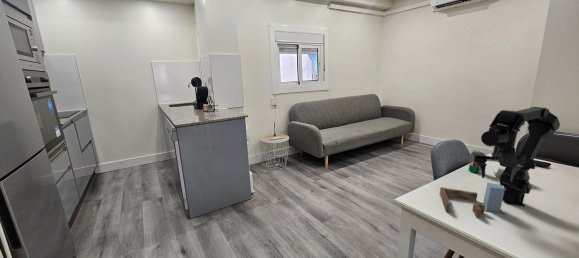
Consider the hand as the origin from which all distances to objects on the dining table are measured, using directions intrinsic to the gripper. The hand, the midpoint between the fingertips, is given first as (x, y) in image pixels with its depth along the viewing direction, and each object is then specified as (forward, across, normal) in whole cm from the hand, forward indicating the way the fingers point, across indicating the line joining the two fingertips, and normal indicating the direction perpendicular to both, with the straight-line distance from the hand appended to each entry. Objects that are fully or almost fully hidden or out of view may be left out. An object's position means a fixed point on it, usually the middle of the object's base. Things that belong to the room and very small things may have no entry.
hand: (496, 179), depth 96 cm
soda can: (+13, +4, +42) cm, 44 cm away
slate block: (+13, 0, 0) cm, 13 cm away
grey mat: (+13, 0, 0) cm, 13 cm away
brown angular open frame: (+13, -10, -2) cm, 16 cm away
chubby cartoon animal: (+13, +18, +36) cm, 42 cm away
